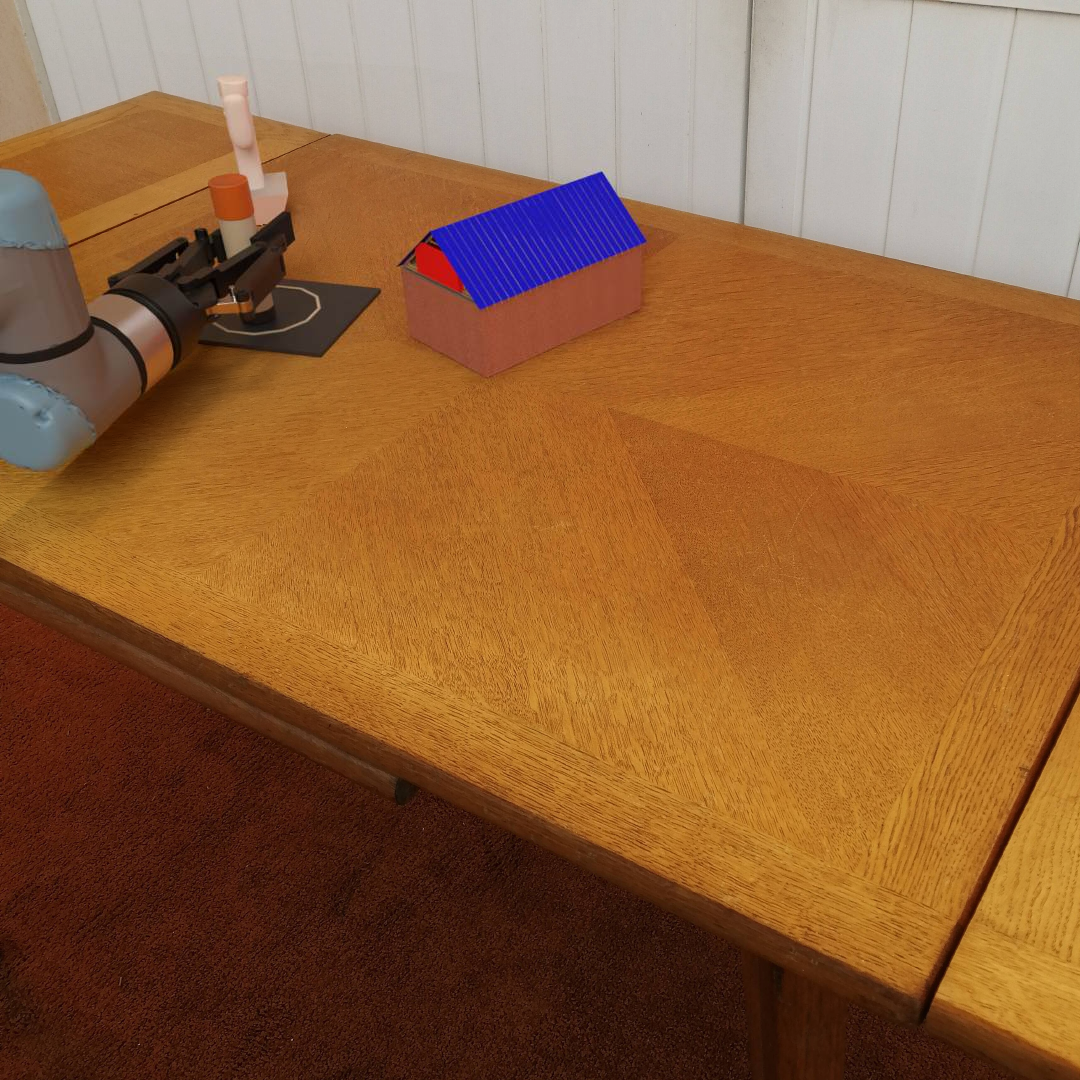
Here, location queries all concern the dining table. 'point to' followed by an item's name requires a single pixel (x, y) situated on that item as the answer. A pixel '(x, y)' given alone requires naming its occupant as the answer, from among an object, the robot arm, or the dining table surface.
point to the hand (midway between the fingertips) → (270, 224)
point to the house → (525, 276)
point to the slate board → (296, 319)
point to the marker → (238, 226)
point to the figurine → (251, 151)
